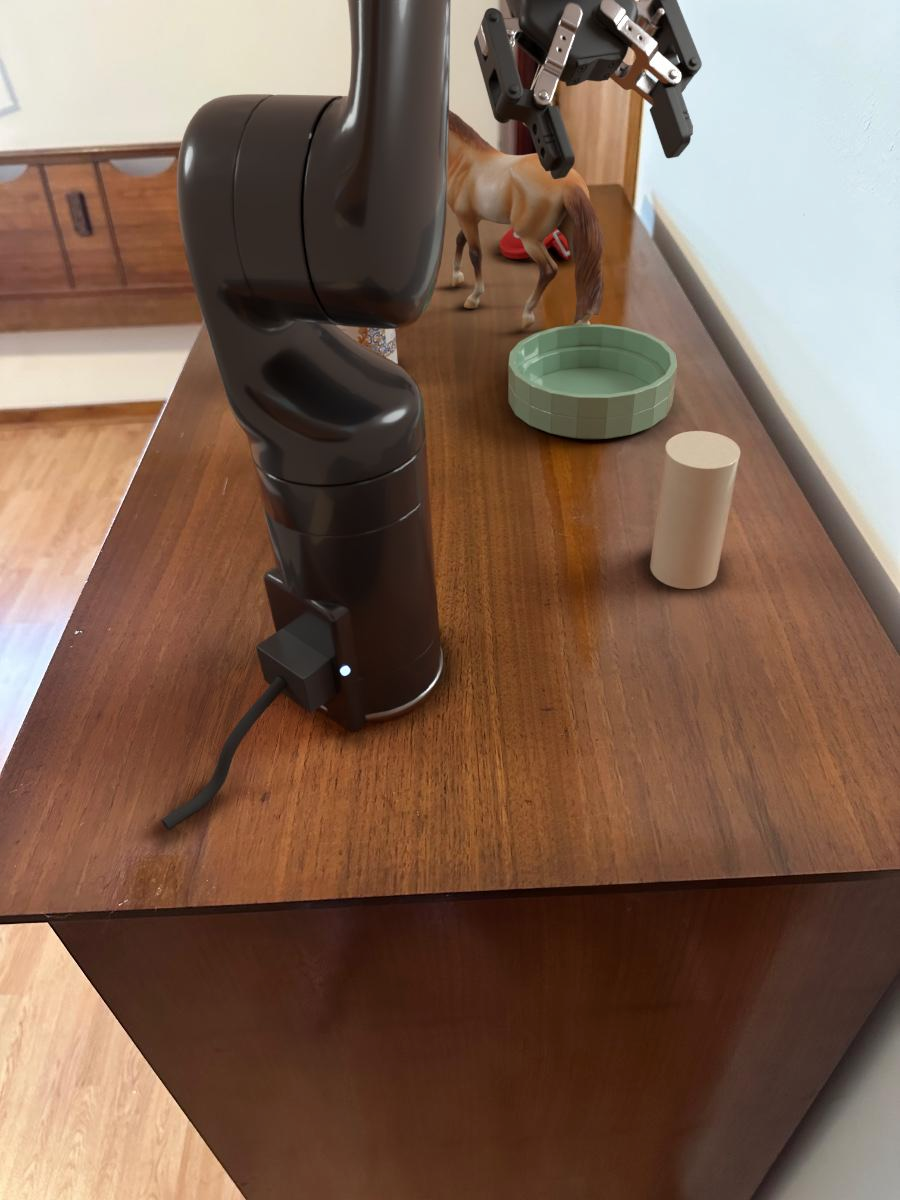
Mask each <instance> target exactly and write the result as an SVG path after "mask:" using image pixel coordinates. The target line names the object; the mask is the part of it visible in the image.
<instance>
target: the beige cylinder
mask: <svg viewBox="0 0 900 1200" xmlns="http://www.w3.org/2000/svg"><path fill="white" fill-rule="evenodd" d="M741 453H742V452H741V449H740V446H739V444H737V443H736V441H734V440H733V439H731V438H730V437H727V436H725V435H724V434H721V433H717V432H713V431H705V430H690V431H684V432H679V433H677V434H675V435H674V436H672V437H670V438H669V439H668V440H667V441H666V444H665V446H664V453H663V461H662V469H661V477H660V484H659V492H658V499H657V508H656V515H655V524H654V530H653V531H654V532H653V539H652V546H651V555H650V563H649V568H650V572H651V573H652V575H653V576H654V577H655V579H657V580H658V581H659V582H661V583H662V584H664V585H667V586H668V587H672V588H675V589H680V590H681V589H682V590H697V589H701V588H704V587H707V586H708V585H710V584H712V583H713V582H714V581H715V580H716V579H717V576H718V573H719V572H718V571H719V568H720V562H721V557H722V553H723V552H722V551H723V546H724V542H725V536H726V531H727V527H728V522H729V521H728V520H729V516H730V511H731V505H732V500H733V495H734V489H735V484H736V480H737V475H738V468H739V464H740V460H741Z"/></svg>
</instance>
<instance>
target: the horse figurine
mask: <svg viewBox="0 0 900 1200" xmlns="http://www.w3.org/2000/svg"><path fill="white" fill-rule="evenodd" d="M447 205H448V206H449V208H450V209H451V211H452V212H453V214H455V217H456V221H457V223H458V226H459V228H460V230H459V232H458V233H457V235H456V238H455V245H456V246H455V253H454V255H453V260H452V263H451V265H452V276H451V277H452V279H451V280H452V281H451V285H452V287H453V288H455V287H458V286H462V284H464V282H465V277H464V272H461V271H460V270H461V268H462V265H463V262H462V261H463V254H464V249H465V246H466V244H467V246H468V255H469V260H470V262H471V265H472V266H473V272H474V278H475V280H474V288H473V291H472V293H471V294H470V295H468V297H466V300H465V301H464V304H463V307H464V308H466V309H469V310H470V309H471V310H472V309H477V308H478V307H479V303H480V296H481V295H482V294H484V292H485V285H484V280H483V271H482V270H483V269H482V264H483V253H482V246H481V238H480V233H479V232H480V231H479V224H480V222H481V221H488V222H492V223H495V224H498V225H511V228H513V229H514V231H515V233H516V235H517V236H518V237H519V238H520V239H521V241H522V243H523V246H524V248H525V250H526V252H527V253H528V254H529V256H530V257H529V258H531V259H532V260H533V261H534V262H535V263H536V264H537V265H538V269H539V278H538V281H537V283H536V285H535V287H534V288H533V290H532V292H531V294H530V295H529V296H528V297H527V299H526V301H525V306H524V310H523V313H522V317H521V320H522V321H521V329H522V331H526V330H528V329H529V328H531V326H533V325H534V324H535V322H536V317H535V314H534V312H533V311H534V310H535V309H536V308H537V307H538V305H539V302H540V300H541V298H542V296H543V294H544V292H545V290H546V289H547V287H548V286H549V284H550V283H551V282H552V281H553V280H554V279H555V278H556V276H557V275H558V271H559V268H558V267H559V265H557V263H556V261H554V260H553V258H552V257H551V255H550V253H549V252H548V249H546V247H545V245H544V239H545V238H546V237H547V236H548V235H549V234H551V233H552V232H553V231H554V230H555V229H556V228H557V229H558V230H559V231H560V232H561V233H562V234H563V235H564V237H565V238H566V241H567V244H568V247H569V251H570V254H571V256H572V258H571V259H572V261H573V263H574V285H575V297H576V305H575V315H574V318H573V323H574V324H573V325H577V324H578V325H579V324H591V322H590V319H591V318H592V317H594V316H595V315H596V316H598V315H599V314H600V311H601V307H602V304H603V299H604V298H603V297H604V290H605V283H604V244H605V243H604V235H603V231H602V230H603V229H602V226H601V222H600V219H599V217H598V214H597V211H596V209H595V207H594V205H593V203H592V202H591V198H590V191H589V188H588V186H587V184H586V182H585V180H584V178H583V177H582V176H581V175H580V174H579V173H578V171H577V170H575V169H574V168H573V167H572V168H571V170H570V171H569V173H568V174H567V176H566V177H565V178H560V179H553V178H552V175H551V173H550V171H545V169H544V168H543V167H542V165H541V163H540V160H539V157H538V155H537V152H535V153H529V154H528V153H527V154H523V155H522V154H519V155H515V154H507V153H504V152H503V151H500V150H499V149H497V148H495V147H494V146H492V144H490V143H489V142H488V141H486V140H485V139H484V138H483V137H482V136H481V135H480V134H479V133H478V132H477V130H475V129H474V127H472V126H471V125H470V124H468V123H467V122H466V121H465V120H463V119H462V118H461V116H459V115H458V114H456V113H455V112H453V111H452V110H451V109H449V155H448V188H447Z"/></svg>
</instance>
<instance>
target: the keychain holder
mask: <svg viewBox="0 0 900 1200" xmlns="http://www.w3.org/2000/svg"><path fill="white" fill-rule="evenodd" d="M544 245H545V247H546V249H547V250H548V249H550V248H551V247H552V249H554V250H555V251H556V253H557V254H558V255H559V256H560V257H561V258H562V259H564V260H567V261H568V260H571V259H572V256H571V254H570V251H569V247H568V244H567V241H566V238H565V237H564V235H563V234H562V233H561V232H560V231H559V230H558V229H557V228H556V229H555V230H554V231H553V232H552V233H551V234H549V235H548V236H547V237H546V238H545V239H544ZM499 247H500V252H501V254H502V255H503V256H504V257H505V258H508V259H512V260H522V259H527V258H531V257H530V256H529V254H528V253H527V252H526V250H525V248H524V246H523V243H522V241H521V239H520V238H519V237H518V236H517V235H516V233H515V231H514V229H513V227H511V228H510V229H509V230H508V231H507V232H506V233H505V234H504V235H503V236H502V237H501V238H500V240H499Z"/></svg>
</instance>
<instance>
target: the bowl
mask: <svg viewBox="0 0 900 1200" xmlns="http://www.w3.org/2000/svg"><path fill="white" fill-rule="evenodd" d="M676 355H677V354H676V352H675V351H674V350H673V349H672V348H671V347H670V346H669V344H667V343H666V342H665V341H663V340H661V339H660V338H658V337H655V336H653V335H652V334H649V333H647V332H645V331H642V330H641V331H640V330H636V329H634V328H630V327H626V326H621V325H620V326H619V325H611V324H605V323H600V324H599V323H592V324H591V323H590V324H579V325H578V324H577V325H574V324H570V325H563V326H556V327H555V326H554V327H552V328H548V329H544V330H542V331H538V332H535V333H532V334H531V335H529V336H527V337H526V338H525V337H524V339H522V340H520V341H518V343H517V344H516V345H515V346H514V347H513V348H512V350H510V352H509V357H508V366H507V367H508V368H507V369H508V371H507V372H508V373H507V374H508V377H507V378H508V382H507V384H508V387H507V388H508V391H507V392H508V395H507V396H508V405H509V406H510V408H511V409H512V411H513V413H514V416H516V417H517V418H519V419H520V420H522V421H523V422H524V423H526V424H527V425H528V426H530V427H533V428H536V429H538V430H541V431H543V432H546V433H548V434H552V435H555V436H559V437H563V438H570V439H578V440H606V439H607V440H608V439H615V438H622V437H625V436H630V435H634V434H636V433H640V432H642V431H645V430H647V429H650V428H652V427H654V426H655V425H657V424H658V423H659V422H660V421H662V420H663V419H665V418H666V417H667V416H668V414H669V412H670V410H671V408H672V406H673V402H674V394H675V386H676V380H677V379H676V378H677V371H678V361H677V356H676Z"/></svg>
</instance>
